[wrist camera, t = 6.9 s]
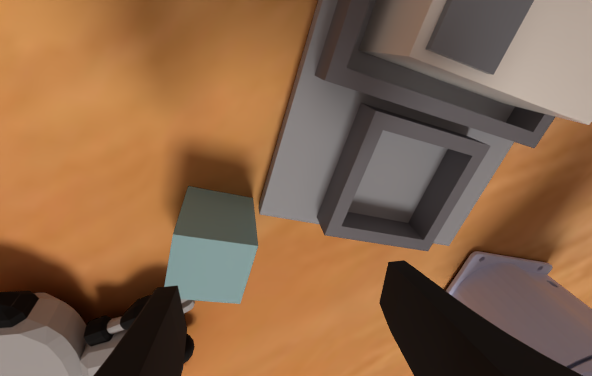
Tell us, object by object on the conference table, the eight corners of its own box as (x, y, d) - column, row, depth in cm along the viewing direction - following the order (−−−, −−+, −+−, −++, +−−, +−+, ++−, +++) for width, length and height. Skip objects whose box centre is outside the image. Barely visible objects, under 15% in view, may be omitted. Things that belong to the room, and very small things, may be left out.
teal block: (252, 197, 19) (258, 246, 15) (239, 246, 21) (240, 303, 16) (188, 185, 18) (173, 234, 13) (178, 238, 19) (162, 297, 15)
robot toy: (200, 256, 22) (-75, 260, 17) (197, 306, 18) (-160, 329, 13) (192, 363, 27) (-20, 388, 22) (189, 419, 23) (-68, 465, 18)
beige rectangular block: (543, 32, 16) (666, 30, 12) (502, 103, 18) (595, 126, 13) (391, -43, 13) (473, -83, 9) (358, 50, 15) (413, 56, 10)
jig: (585, 0, 17) (649, -6, 14) (440, 237, 24) (466, 263, 21) (356, -131, 13) (387, -174, 10) (258, 206, 19) (262, 233, 17)
